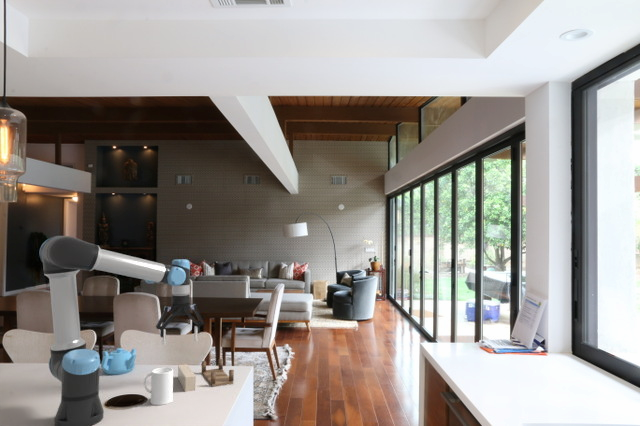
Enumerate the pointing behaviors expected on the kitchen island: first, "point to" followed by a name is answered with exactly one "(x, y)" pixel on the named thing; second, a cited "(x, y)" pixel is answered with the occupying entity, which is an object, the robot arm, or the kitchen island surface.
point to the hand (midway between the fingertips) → (180, 342)
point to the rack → (218, 375)
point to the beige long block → (186, 377)
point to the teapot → (118, 361)
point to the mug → (161, 386)
